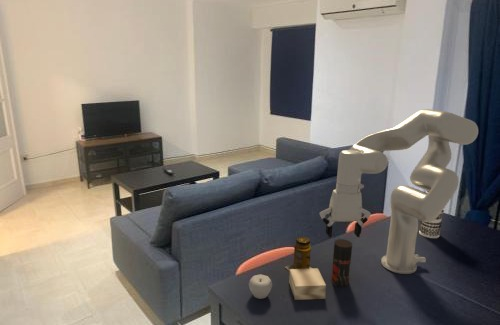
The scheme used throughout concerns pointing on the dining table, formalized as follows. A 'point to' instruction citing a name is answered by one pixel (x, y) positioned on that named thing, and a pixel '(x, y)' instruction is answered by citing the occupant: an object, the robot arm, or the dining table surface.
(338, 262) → the deodorant
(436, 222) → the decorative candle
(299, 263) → the condiment
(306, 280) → the block
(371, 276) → the dining table surface
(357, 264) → the dining table surface
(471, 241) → the dining table surface
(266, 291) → the apple
